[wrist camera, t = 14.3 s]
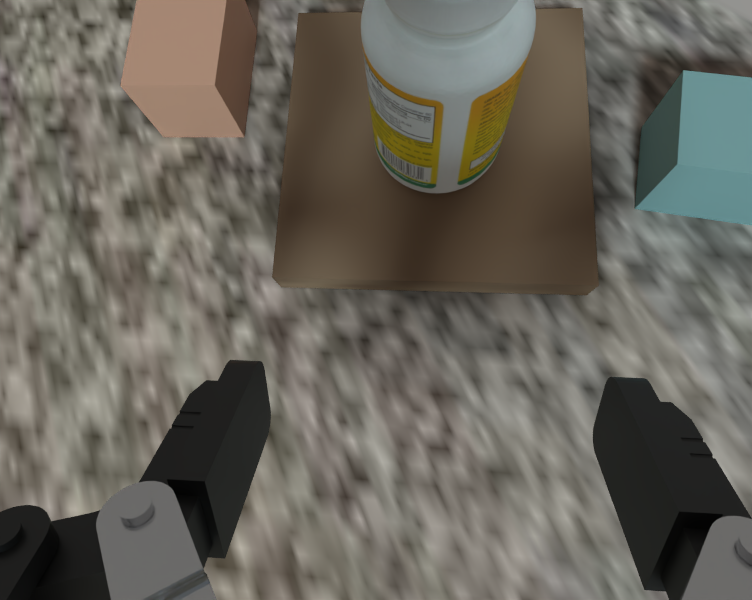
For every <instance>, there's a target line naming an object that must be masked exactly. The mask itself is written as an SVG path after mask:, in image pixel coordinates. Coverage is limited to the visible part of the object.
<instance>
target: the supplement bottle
mask: <svg viewBox="0 0 752 600" xmlns="http://www.w3.org/2000/svg"><path fill="white" fill-rule="evenodd" d="M535 27H536V10H535V4H534V0H365V2H364V6H363V10H362V16H361V38H362V47H363V55H364V62H365V70H366V78H367V86H368V94H369V102H370V111H371V118H372V125H373V134H374V141H375V147H376V151H377V154H378V156H379V159H380V161H381V163H382V164H383V166H384V167H385V169H386V170H387V171H388V172H389V174H390V175H391V176H392V177H394V178H395V179H396V180H397V181H399V182H400V183H401V184H403V185H405V186H407V187H409V188H411V189H414V190H417V191H420V192H426V193H448V192H452V191H456V190H459V189H462V188H464V187H467V186H469V185H470V184H472V183H473V182H474V181H476V180H477V179H478V178H480V177H481V176H482V175H483V174H484V173H485V172H486V171H487V170H488V169H489V167H490V166H491V165H492V163H493V162H494V160H495V158H496V156H497V154H498V151H499V149H500V146H501V143H502V140H503V136H504V133H505V129H506V126H507V123H508V119H509V116H510V113H511V110H512V107H513V103H514V100H515V97H516V93H517V90H518V87H519V84H520V81H521V77H522V74H523V71H524V68H525V65H526V62H527V59H528V55H529V52H530V49H531V46H532V42H533V38H534V33H535Z"/></svg>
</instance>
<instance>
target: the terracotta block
mask: <svg viewBox="0 0 752 600" xmlns="http://www.w3.org/2000/svg"><path fill="white" fill-rule="evenodd" d="M256 37H257V29H256V27H255V24H254V22H253V19H252V17H251V14H250V12H249V9H248V6H247V4H246V1H245V0H137V1H136V7H135V12H134V17H133V22H132V28H131V33H130V38H129V43H128V49H127V54H126V59H125V64H124V70H123V75H122V80H121V87H122V88H123V89H124V91H125V92H126V93H127V94H128V95H129V97H130V98H131V99H132V100H133V101H134V102H135V104H136V105H137V106H138V107H139V108H140V110H141V111H142V112H143V113H144V114H145V115H146V117H147V118H148V119H149V120H150V121H151V123H152V124H153V125H154V126H155V127H156V128H157V130H158V131H159V132H160V133H161V134H162V136H163V137H244V136H245V128H246V119H247V111H248V103H249V95H250V86H251V78H252V70H253V62H254V53H255V45H256Z"/></svg>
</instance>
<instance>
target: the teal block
mask: <svg viewBox="0 0 752 600" xmlns="http://www.w3.org/2000/svg"><path fill="white" fill-rule="evenodd" d="M635 209H640V210H647V211H654V212H661V213H668V214H675V215H682V216H690V217H697V218H704V219H711V220H718V221H725V222H732V223H739V224H746V225H752V78H750V77H741V76H732V75H723V74H713V73H704V72H695V71H686V70H683V71H682V73H681V74H680V76H679V77H678V78H677V80H676V81H675V82H674V84H673V85H672V87H671V88H670V89H669V91H668V92H667V93H666V95H665V96H664V98H663V99H662V100H661V102H660V103H659V104H658V106H657V107H656V109H655V110H654V111H653V113H652V114H651V115H650V117H649V118H648V120H647V121H646V122H645V124H644V125H643V126H642V129H641V141H640V153H639V165H638V177H637V189H636V200H635Z"/></svg>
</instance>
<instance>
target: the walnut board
mask: <svg viewBox="0 0 752 600" xmlns="http://www.w3.org/2000/svg"><path fill="white" fill-rule="evenodd" d="M535 10H536V27H535V33H534V38H533V42H532V46H531V49H530V52H529V55H528V59H527V62H526V65H525V68H524V71H523V74H522V77H521V81H520V84H519V87H518V90H517V93H516V97H515V100H514V103H513V107H512V110H511V113H510V116H509V119H508V123H507V126H506V129H505V133H504V136H503V140H502V143H501V146H500V149H499V151H498V154H497V156H496V158H495V160H494V162H493V163H492V165H491V166H490V167H489V169H488V170H487V171H486V172H485V173H484V174H483V175H482V176H481V177H480V178H478V179H477V180H476V181H474V182H473V183H472V184H470V185H469V186H467V187H464V188H462V189H459V190H456V191H452V192H448V193H426V192H420V191H417V190H414V189H411V188H409V187H407V186H405V185H403V184H401V183H400V182H399V181H397V180H396V179H395V178H394V177H392V176H391V175H390V174H389V172H388V171H387V170H386V169H385V167H384V166H383V164H382V163H381V161H380V159H379V156H378V154H377V151H376V147H375V141H374V134H373V125H372V118H371V111H370V102H369V94H368V86H367V78H366V70H365V62H364V55H363V47H362V38H361V16H362V12H334V13H299V14H298V24H297V34H296V44H295V54H294V64H293V74H292V84H291V94H290V104H289V114H288V124H287V134H286V144H285V154H284V164H283V174H282V184H281V194H280V204H279V214H278V224H277V234H276V244H275V254H274V264H273V274H272V278H273V279H274V280H275V281H276V282H277V283H278V284H279V285H280V286H281V287H290V288H329V289H367V290H406V291H444V292H482V293H521V294H559V295H588V294H589V293H590V292H591V291H592V290H594V289H595V288H596V287H597V286H599V282H598V265H597V248H596V231H595V214H594V197H593V180H592V163H591V146H590V129H589V112H588V95H587V78H586V61H585V45H584V28H583V11H582V8H557V9H535Z"/></svg>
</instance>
